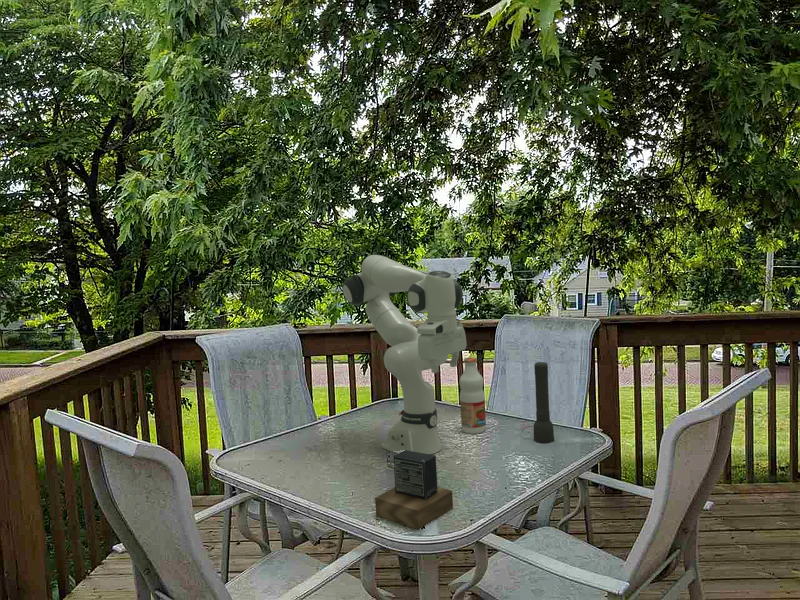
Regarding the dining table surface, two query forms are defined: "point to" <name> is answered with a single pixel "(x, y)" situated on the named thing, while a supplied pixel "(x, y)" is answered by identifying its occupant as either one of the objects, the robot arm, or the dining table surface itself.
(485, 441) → the dining table surface
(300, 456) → the dining table surface
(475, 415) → the fruit juice
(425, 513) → the stand
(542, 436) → the flashlight
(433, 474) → the small box
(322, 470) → the dining table surface
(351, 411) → the dining table surface
